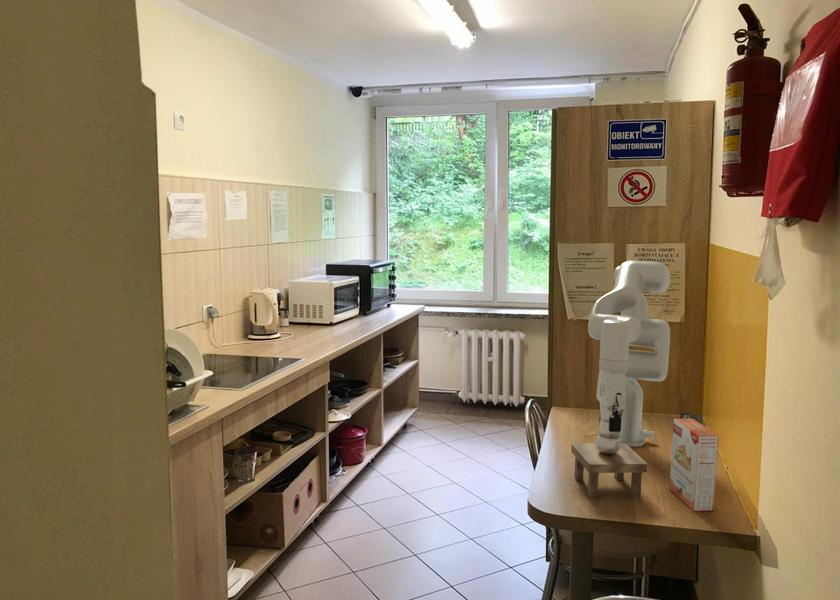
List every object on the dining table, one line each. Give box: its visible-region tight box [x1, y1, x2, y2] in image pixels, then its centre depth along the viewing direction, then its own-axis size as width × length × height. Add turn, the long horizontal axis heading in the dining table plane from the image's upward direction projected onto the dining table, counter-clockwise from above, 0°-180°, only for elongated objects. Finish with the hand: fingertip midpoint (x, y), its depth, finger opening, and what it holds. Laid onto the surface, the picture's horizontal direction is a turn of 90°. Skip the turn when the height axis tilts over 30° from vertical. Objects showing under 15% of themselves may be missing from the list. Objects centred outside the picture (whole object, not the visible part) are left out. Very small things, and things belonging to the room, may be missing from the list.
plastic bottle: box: [595, 400, 620, 454], centre depth 183 cm, size 6×7×20 cm
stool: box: [570, 442, 649, 499], centre depth 185 cm, size 16×16×10 cm
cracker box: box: [669, 418, 720, 512], centre depth 177 cm, size 14×6×21 cm, turn 4°
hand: (609, 426), depth 183 cm, fingers open, 6 cm apart
